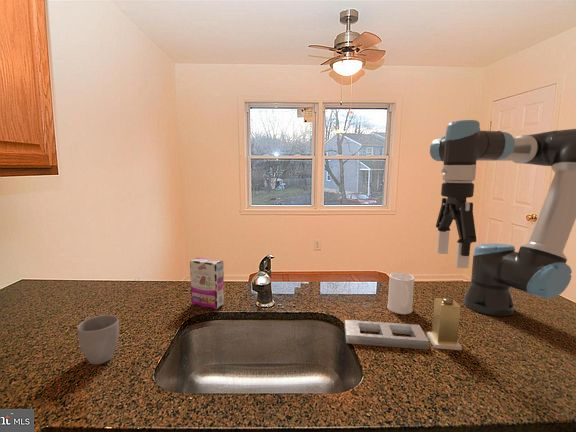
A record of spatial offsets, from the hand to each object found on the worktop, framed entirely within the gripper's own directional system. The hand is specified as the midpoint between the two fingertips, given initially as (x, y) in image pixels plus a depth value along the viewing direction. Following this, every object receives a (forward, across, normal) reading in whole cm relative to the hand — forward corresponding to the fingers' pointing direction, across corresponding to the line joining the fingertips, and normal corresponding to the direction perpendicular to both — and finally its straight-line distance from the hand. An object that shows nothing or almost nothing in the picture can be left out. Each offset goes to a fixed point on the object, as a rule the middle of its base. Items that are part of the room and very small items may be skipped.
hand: (451, 260), depth 84 cm
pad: (+24, 0, 0) cm, 24 cm away
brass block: (+23, 0, 0) cm, 23 cm away
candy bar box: (+24, -14, -76) cm, 81 cm away
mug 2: (+24, -19, -8) cm, 32 cm away
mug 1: (+24, +19, -91) cm, 96 cm away
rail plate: (+24, 0, -17) cm, 29 cm away
